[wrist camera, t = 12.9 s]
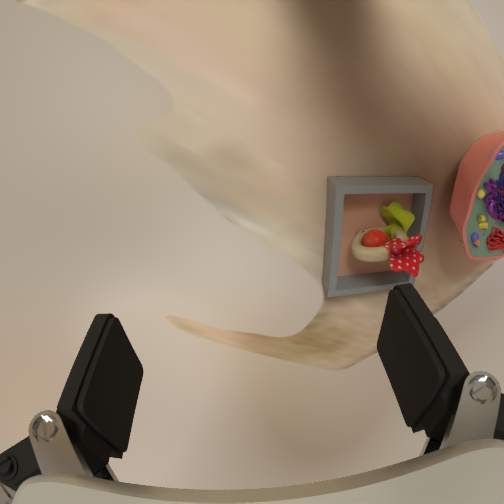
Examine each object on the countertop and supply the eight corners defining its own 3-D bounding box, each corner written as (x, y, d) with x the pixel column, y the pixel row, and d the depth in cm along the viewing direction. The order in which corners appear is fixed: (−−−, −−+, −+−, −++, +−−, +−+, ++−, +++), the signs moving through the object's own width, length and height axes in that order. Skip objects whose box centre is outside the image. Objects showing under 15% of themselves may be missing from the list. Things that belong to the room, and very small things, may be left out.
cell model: (407, 183, 35) (457, 220, 26) (489, 95, 29) (546, 110, 19) (454, 256, 42) (493, 298, 32) (524, 178, 35) (569, 205, 25)
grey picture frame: (327, 176, 35) (336, 185, 32) (419, 176, 35) (433, 185, 32) (321, 282, 42) (327, 297, 39) (402, 273, 42) (412, 286, 39)
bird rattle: (359, 245, 41) (420, 235, 37) (353, 301, 34) (428, 291, 29) (348, 207, 39) (413, 195, 34) (340, 259, 31) (424, 246, 26)
